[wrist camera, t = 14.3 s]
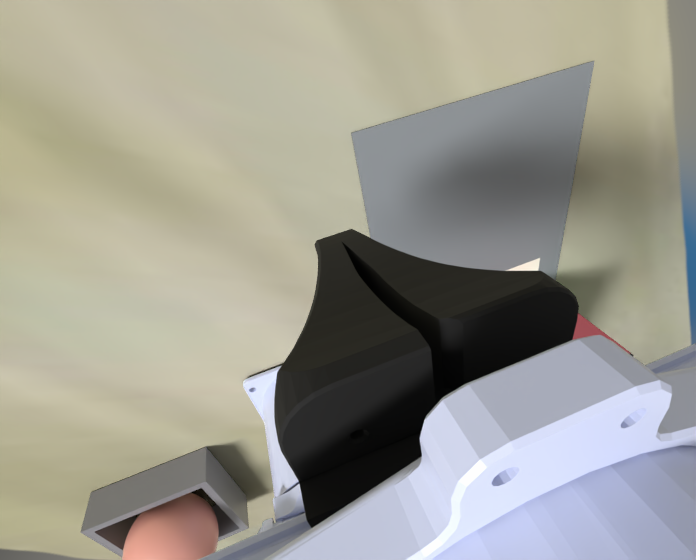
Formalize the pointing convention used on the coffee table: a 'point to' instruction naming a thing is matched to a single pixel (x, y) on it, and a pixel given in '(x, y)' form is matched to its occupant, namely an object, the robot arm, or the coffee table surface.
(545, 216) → the game mat
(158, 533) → the salmon pink ball
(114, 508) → the collar
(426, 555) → the robot arm
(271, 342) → the coffee table surface
